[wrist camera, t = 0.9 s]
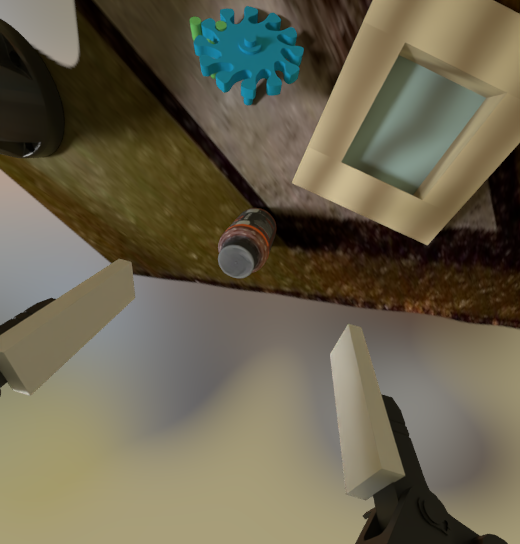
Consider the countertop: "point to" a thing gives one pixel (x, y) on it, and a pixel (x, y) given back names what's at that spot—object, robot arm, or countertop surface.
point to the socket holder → (419, 113)
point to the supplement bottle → (246, 243)
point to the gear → (246, 51)
